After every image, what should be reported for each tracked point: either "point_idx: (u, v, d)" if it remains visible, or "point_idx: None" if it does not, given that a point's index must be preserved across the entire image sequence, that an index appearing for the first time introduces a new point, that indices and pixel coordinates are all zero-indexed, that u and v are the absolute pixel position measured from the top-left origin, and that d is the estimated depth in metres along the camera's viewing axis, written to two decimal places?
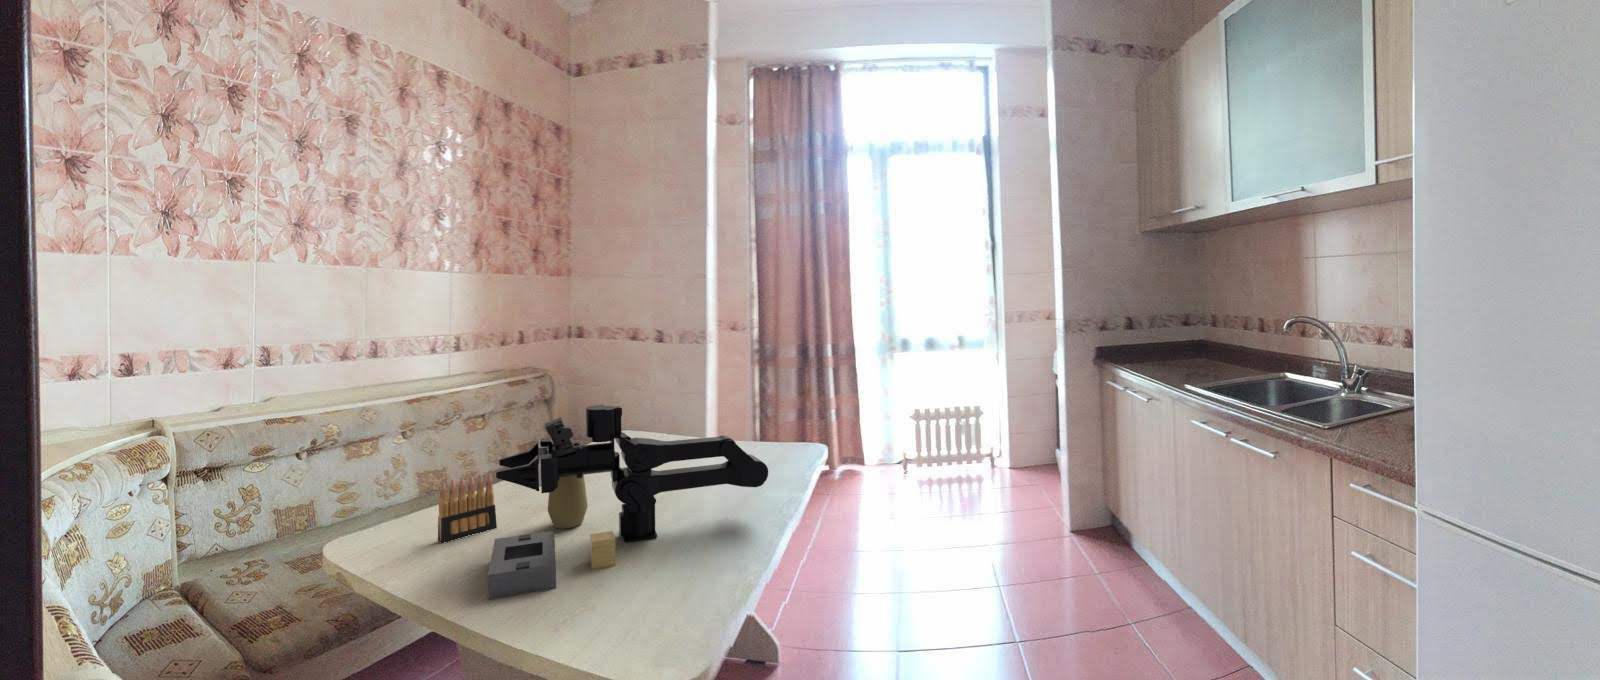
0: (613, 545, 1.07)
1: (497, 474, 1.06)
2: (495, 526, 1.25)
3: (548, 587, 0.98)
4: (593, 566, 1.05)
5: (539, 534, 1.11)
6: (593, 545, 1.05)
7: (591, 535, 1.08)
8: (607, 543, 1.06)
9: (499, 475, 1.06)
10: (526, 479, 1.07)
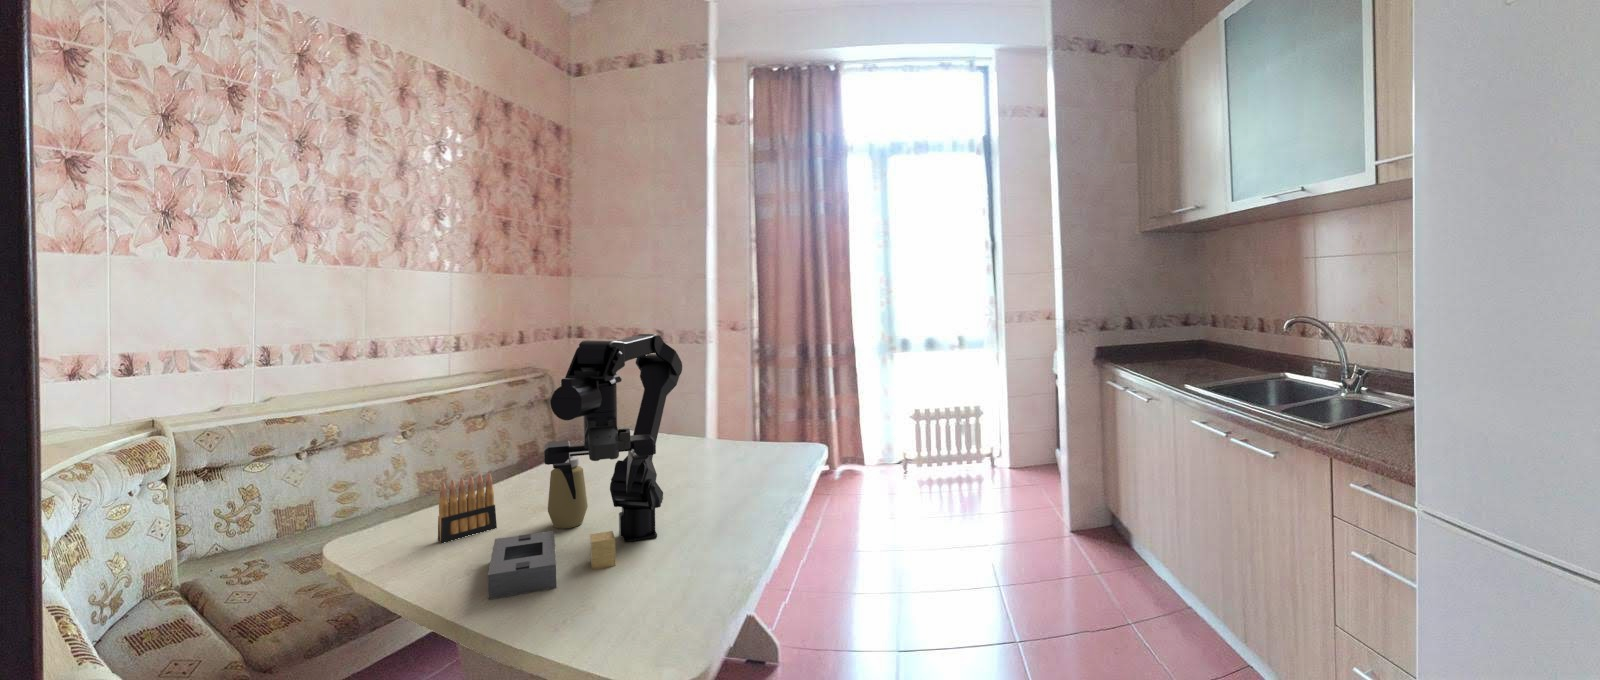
0: (613, 545, 1.07)
1: None
2: (495, 526, 1.25)
3: (548, 587, 0.98)
4: (593, 566, 1.05)
5: (539, 534, 1.11)
6: (593, 545, 1.05)
7: (591, 535, 1.08)
8: (606, 543, 1.06)
9: None
10: None
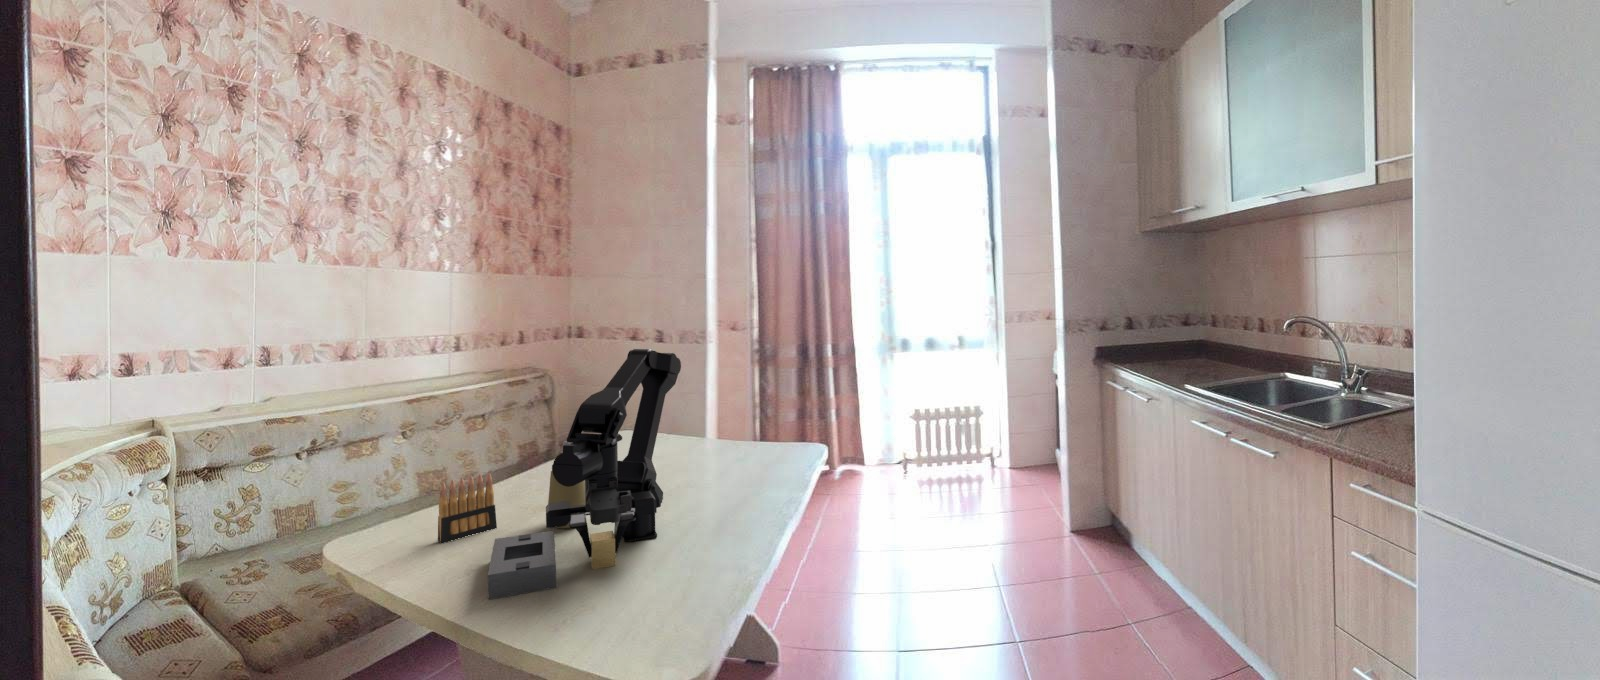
0: (613, 545, 1.07)
1: (616, 551, 1.09)
2: (495, 526, 1.25)
3: (548, 587, 0.98)
4: (593, 566, 1.05)
5: (539, 534, 1.11)
6: (593, 545, 1.05)
7: (591, 534, 1.08)
8: (607, 543, 1.06)
9: None
10: None
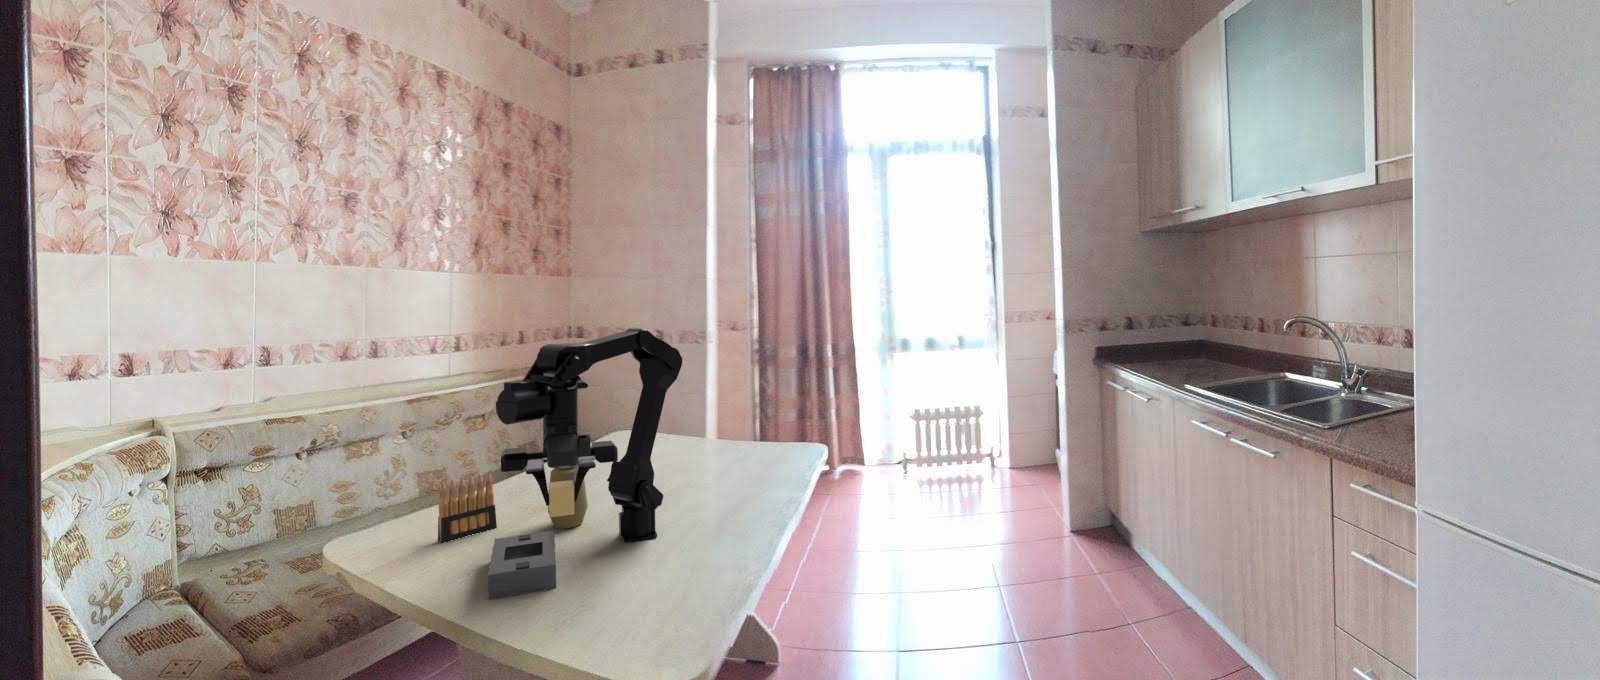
0: (572, 493, 1.03)
1: (575, 500, 1.06)
2: (495, 526, 1.25)
3: (548, 587, 0.98)
4: (551, 514, 1.02)
5: (539, 534, 1.11)
6: (551, 492, 1.02)
7: (549, 483, 1.05)
8: (565, 490, 1.03)
9: None
10: None
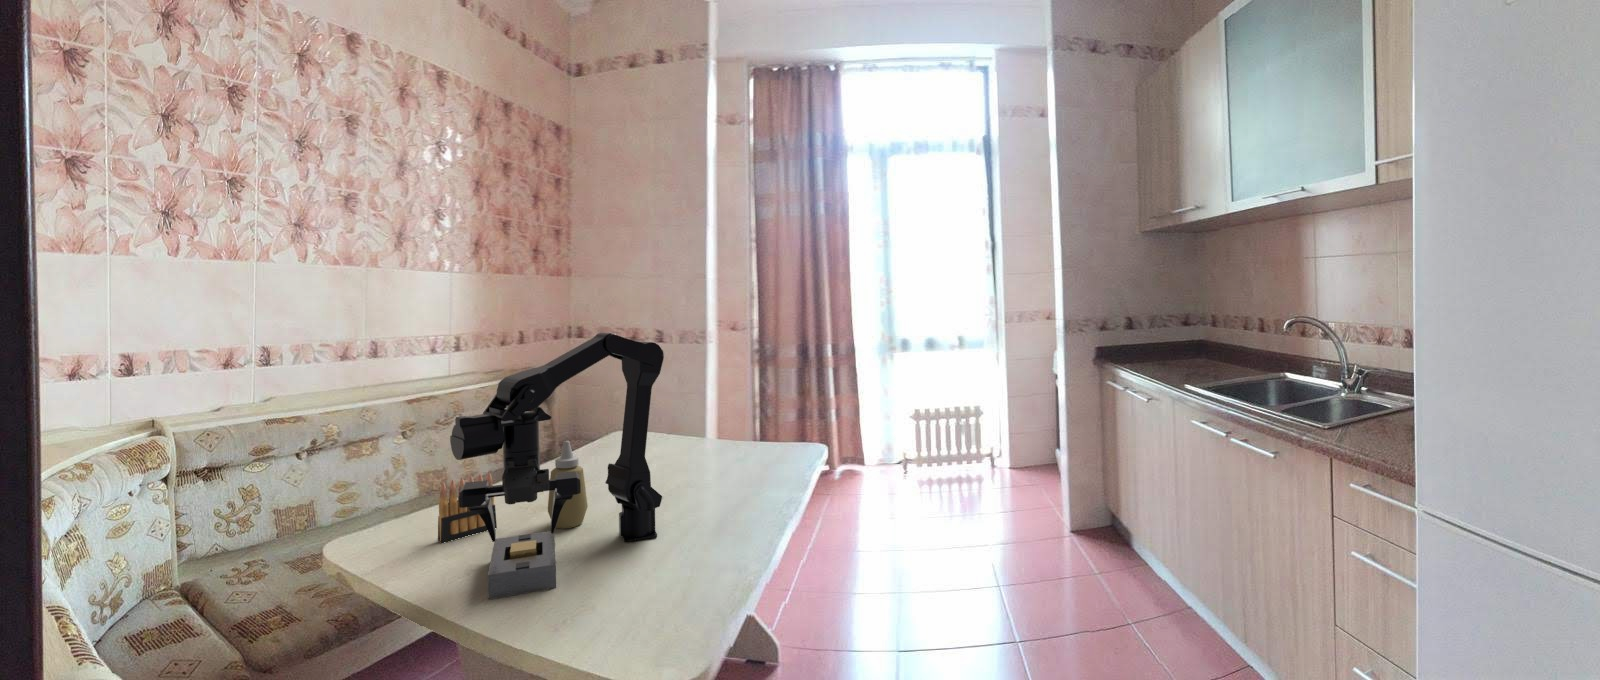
0: (534, 555, 1.02)
1: (553, 531, 1.05)
2: (495, 526, 1.25)
3: (548, 587, 0.98)
4: None
5: (539, 534, 1.11)
6: (512, 555, 1.01)
7: (512, 544, 1.04)
8: (527, 553, 1.02)
9: None
10: None
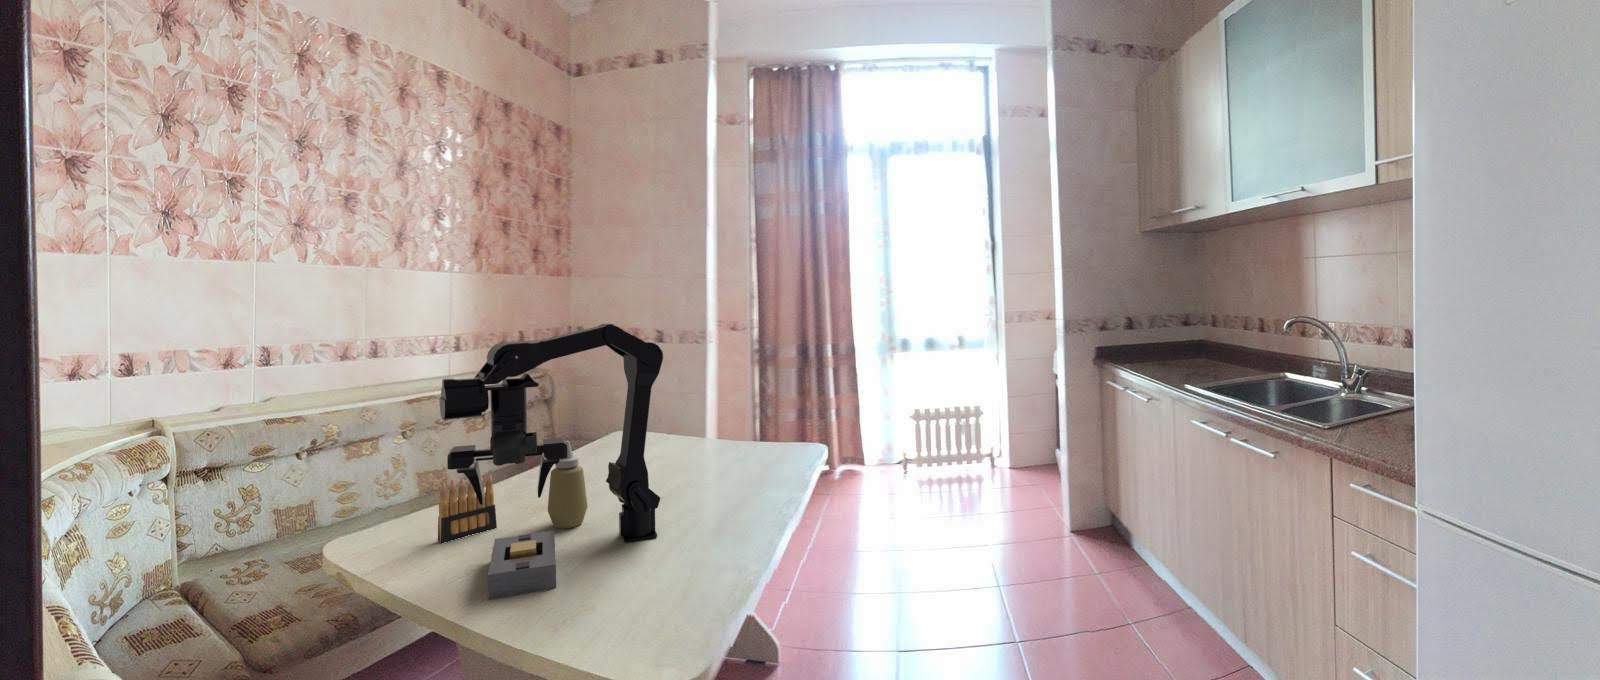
0: (534, 555, 1.02)
1: (540, 495, 1.07)
2: (495, 526, 1.25)
3: (548, 587, 0.98)
4: None
5: (539, 534, 1.11)
6: (512, 555, 1.01)
7: (512, 544, 1.04)
8: (526, 553, 1.02)
9: (541, 493, 1.08)
10: None
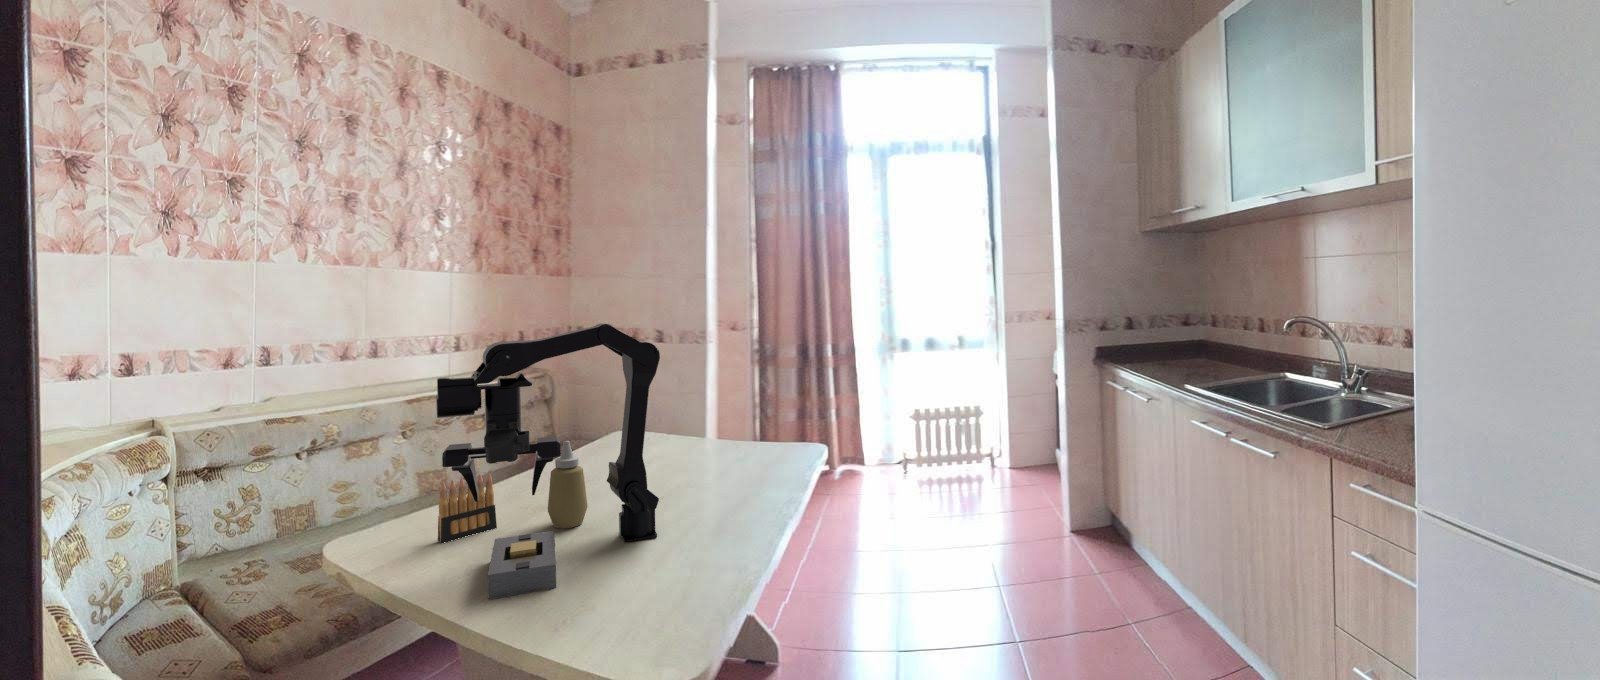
0: (534, 555, 1.02)
1: (534, 493, 1.09)
2: (495, 526, 1.25)
3: (548, 587, 0.98)
4: None
5: (539, 534, 1.11)
6: (512, 555, 1.01)
7: (512, 544, 1.04)
8: (526, 553, 1.02)
9: None
10: None
